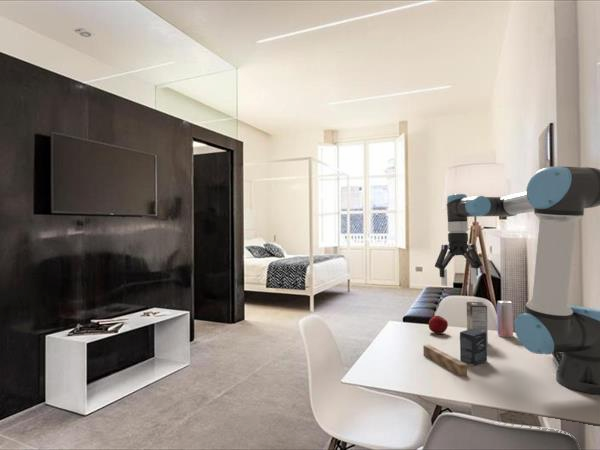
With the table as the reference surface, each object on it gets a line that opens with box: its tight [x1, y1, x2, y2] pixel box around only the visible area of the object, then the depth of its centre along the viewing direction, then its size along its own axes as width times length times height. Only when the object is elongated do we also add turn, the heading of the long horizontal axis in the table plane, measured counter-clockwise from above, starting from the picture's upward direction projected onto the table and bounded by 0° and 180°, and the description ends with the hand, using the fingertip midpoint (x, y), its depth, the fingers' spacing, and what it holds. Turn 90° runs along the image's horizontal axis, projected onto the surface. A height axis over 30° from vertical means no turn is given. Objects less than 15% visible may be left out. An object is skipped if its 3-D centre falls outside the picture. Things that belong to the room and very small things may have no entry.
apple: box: [428, 315, 449, 335], centre depth 173 cm, size 8×8×8 cm
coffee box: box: [466, 301, 489, 346], centre depth 159 cm, size 9×6×16 cm
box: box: [459, 329, 488, 366], centre depth 136 cm, size 8×6×11 cm
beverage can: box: [496, 300, 514, 338], centre depth 168 cm, size 6×6×15 cm
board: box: [422, 344, 468, 377], centre depth 133 cm, size 22×2×4 cm, turn 13°
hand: (459, 284), depth 154 cm, fingers open, 13 cm apart
